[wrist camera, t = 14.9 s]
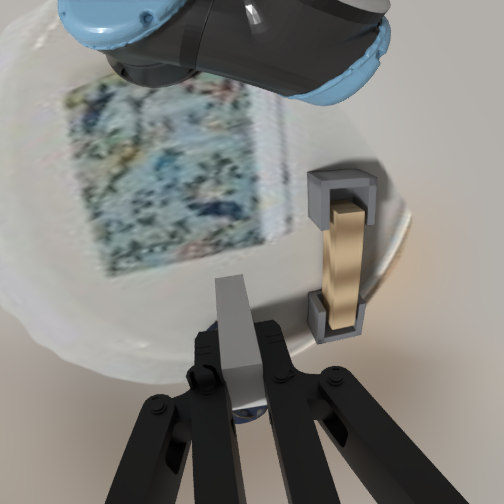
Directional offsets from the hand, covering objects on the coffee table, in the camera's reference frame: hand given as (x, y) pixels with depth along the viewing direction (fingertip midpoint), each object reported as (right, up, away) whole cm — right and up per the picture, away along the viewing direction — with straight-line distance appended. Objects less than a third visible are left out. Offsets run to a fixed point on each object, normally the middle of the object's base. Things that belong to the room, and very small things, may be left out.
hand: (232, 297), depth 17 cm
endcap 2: (+15, -7, +38) cm, 42 cm away
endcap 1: (+14, +12, +29) cm, 34 cm away
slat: (+15, +1, +33) cm, 36 cm away
